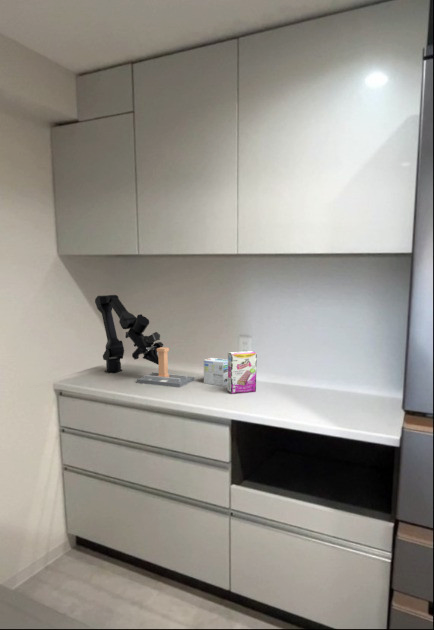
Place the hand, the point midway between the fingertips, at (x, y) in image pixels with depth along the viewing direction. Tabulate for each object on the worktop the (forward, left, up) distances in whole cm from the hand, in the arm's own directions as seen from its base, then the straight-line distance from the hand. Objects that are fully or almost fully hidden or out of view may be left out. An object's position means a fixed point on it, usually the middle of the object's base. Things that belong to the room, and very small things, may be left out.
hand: (159, 364), depth 197 cm
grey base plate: (+3, 0, -8) cm, 8 cm away
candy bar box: (+41, -3, -8) cm, 42 cm away
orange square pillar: (+2, 0, -6) cm, 6 cm away
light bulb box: (+26, +6, -8) cm, 28 cm away
